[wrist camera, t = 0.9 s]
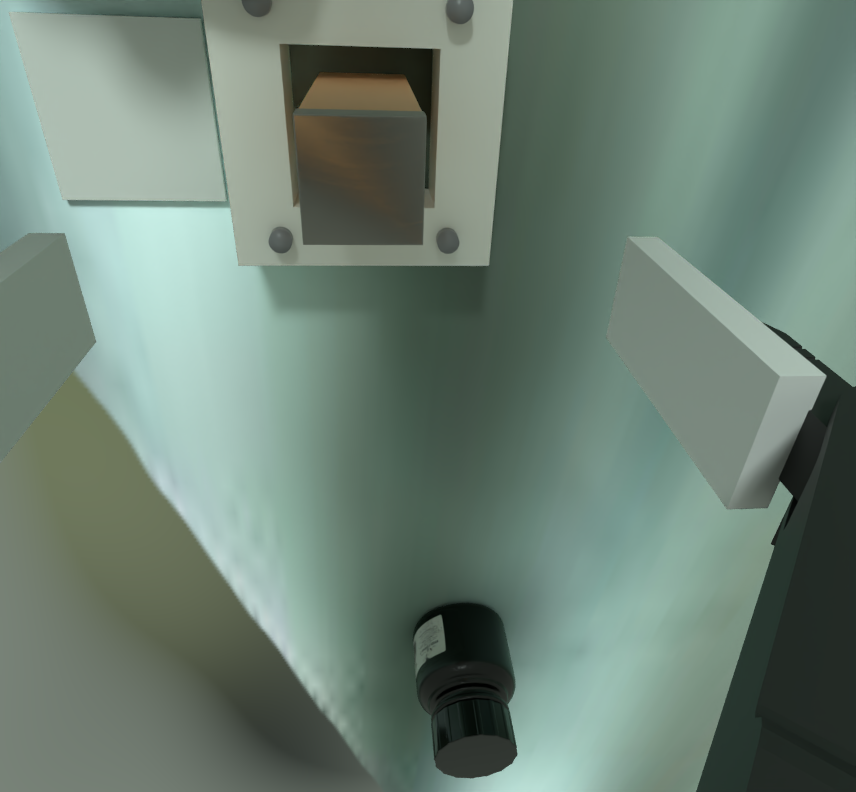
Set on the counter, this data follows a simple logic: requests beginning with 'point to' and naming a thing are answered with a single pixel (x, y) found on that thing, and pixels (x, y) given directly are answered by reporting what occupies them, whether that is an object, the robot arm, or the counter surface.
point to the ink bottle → (466, 688)
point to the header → (274, 132)
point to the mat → (124, 105)
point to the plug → (361, 160)
